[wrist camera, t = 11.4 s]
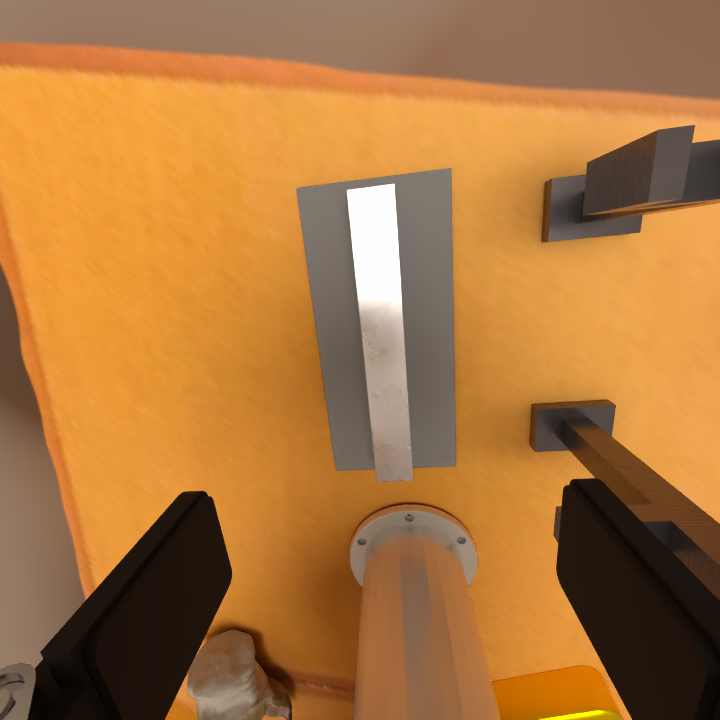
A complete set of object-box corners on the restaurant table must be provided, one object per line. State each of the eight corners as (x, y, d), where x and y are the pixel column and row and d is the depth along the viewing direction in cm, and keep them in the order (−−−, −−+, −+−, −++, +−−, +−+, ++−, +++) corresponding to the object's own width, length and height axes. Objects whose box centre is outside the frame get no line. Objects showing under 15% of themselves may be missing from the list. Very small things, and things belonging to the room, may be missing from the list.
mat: (455, 462, 30) (456, 466, 30) (336, 467, 32) (335, 470, 31) (449, 170, 23) (451, 168, 23) (298, 189, 24) (296, 187, 24)
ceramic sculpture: (238, 715, 30) (282, 794, 35) (270, 613, 38) (302, 689, 43) (134, 716, 31) (191, 791, 36) (185, 617, 39) (226, 690, 45)
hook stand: (602, 442, 29) (922, 719, 12) (494, 446, 30) (643, 710, 12) (638, 170, 23) (1435, -98, 5) (500, 187, 23) (809, 3, 6)
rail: (410, 459, 30) (413, 480, 27) (377, 460, 30) (376, 481, 28) (393, 192, 24) (394, 184, 21) (351, 197, 24) (346, 190, 21)
